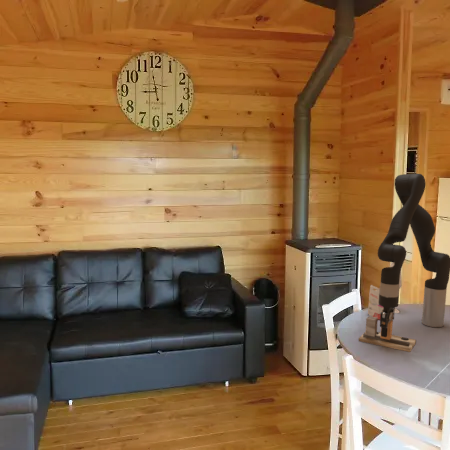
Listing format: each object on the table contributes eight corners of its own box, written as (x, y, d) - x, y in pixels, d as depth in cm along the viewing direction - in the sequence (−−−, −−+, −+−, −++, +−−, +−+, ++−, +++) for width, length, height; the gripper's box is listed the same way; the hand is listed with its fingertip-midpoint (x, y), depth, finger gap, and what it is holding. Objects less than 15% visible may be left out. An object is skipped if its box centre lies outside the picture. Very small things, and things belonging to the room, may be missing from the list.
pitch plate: (366, 332, 208) (368, 310, 207) (415, 342, 198) (417, 319, 197) (358, 341, 198) (360, 318, 197) (410, 351, 188) (411, 327, 187)
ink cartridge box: (387, 319, 227) (389, 288, 225) (377, 320, 226) (380, 289, 224) (376, 313, 235) (378, 284, 234) (367, 314, 234) (369, 284, 232)
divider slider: (385, 333, 203) (387, 315, 202) (394, 335, 201) (395, 316, 200) (380, 340, 195) (381, 321, 194) (389, 342, 193) (390, 322, 192)
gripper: (383, 288, 201) (381, 327, 203) (374, 296, 189) (372, 337, 191) (402, 291, 197) (399, 330, 199) (394, 299, 185) (391, 341, 187)
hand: (386, 333), depth 195 cm, fingers open, 7 cm apart
